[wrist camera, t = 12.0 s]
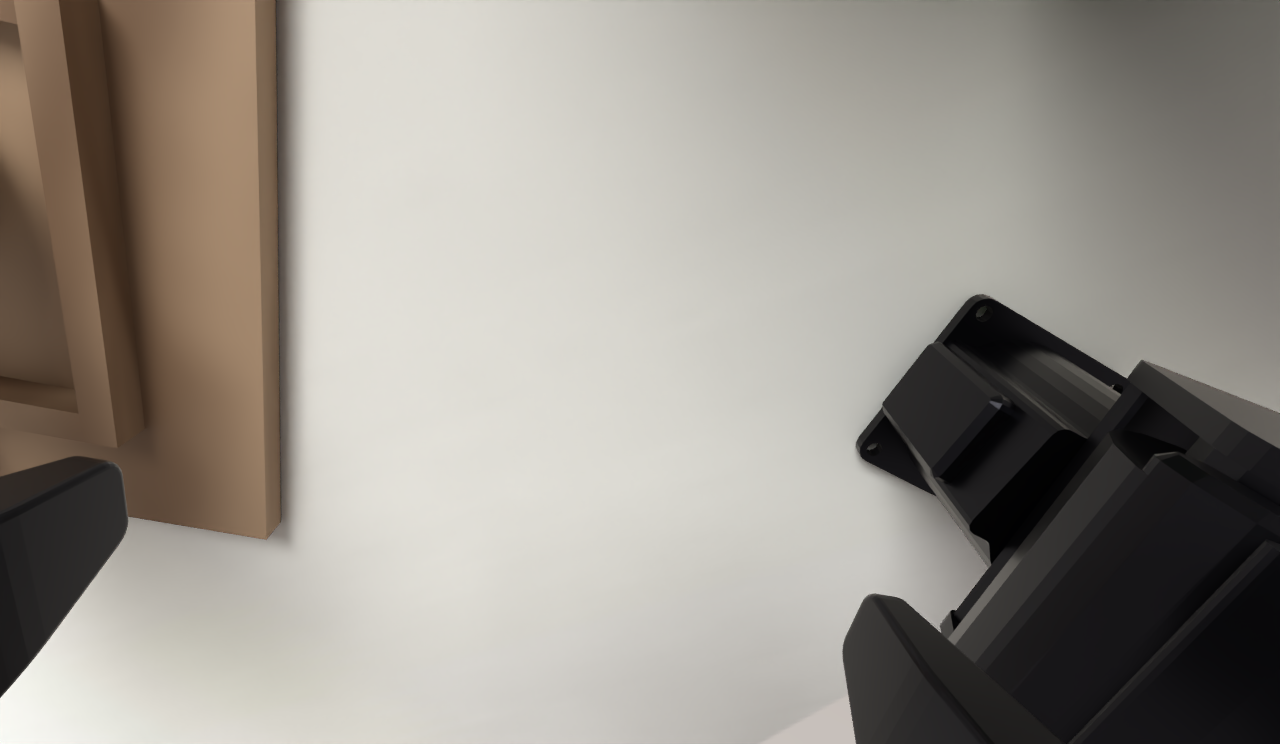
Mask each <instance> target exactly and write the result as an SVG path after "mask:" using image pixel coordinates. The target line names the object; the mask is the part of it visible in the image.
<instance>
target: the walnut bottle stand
mask: <svg viewBox="0 0 1280 744" xmlns="http://www.w3.org/2000/svg"><path fill="white" fill-rule="evenodd" d="M72 456H85V457H90V458H96V459H102V460H108V461H112V462H114V463H116V464H117V465H118V466H119V467H120V469H121V470H122V474H123V481H124V489H125V497H126V504H127V512H128V516H129V517H135V518H140V519H146V520H152V521H158V522H164V523H170V524H176V525H182V526H188V527H194V528H200V529H206V530H212V531H218V532H224V533H230V534H236V535H242V536H248V537H254V538H259V539H265V540H266V539H267V538H268V537H269V536H270V534H271V533H272V532H273V531H274V530H275V528H276V527H277V526H278V525H279V523H280V522H281V499H280V394H279V290H278V185H277V81H276V0H0V476H4V475H7V474H11V473H15V472H18V471H22V470H25V469H29V468H32V467H36V466H39V465H43V464H46V463H50V462H53V461H57V460H60V459H64V458H67V457H72Z"/></svg>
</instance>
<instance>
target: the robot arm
mask: <svg viewBox="0 0 1280 744" xmlns="http://www.w3.org/2000/svg"><path fill="white" fill-rule="evenodd" d="M983 306H986V311H985V313H984V314H983V315H982V316H980V317H976V313H977V311H978V309H980V308H981V307H983ZM1130 382H1131V383H1130ZM1114 384H1115V386H1114V387H1113V389H1112V388H1110V386H1112V385H1114ZM873 443H878V444H877V447H875V448H874V449H871V450H868V449H867V448H868V446H869V445H871V444H873ZM856 448H857V450H858V452H859V454H860V456H861V457H862V458H863V459H864V460H865V461H867V462H869V463H871V464H873V465H875V466H877V467H879V468H881V469H883V470H885V471H887V472H889V473H891V474H893V475H895V476H897V477H899V478H901V479H903V480H905V481H907V482H909V483H911V484H913V485H915V486H917V487H919V488H921V489H923V490H925V491H927V492H929V493H931V494H933V495H935V496H937V497H938V499H939V500H940V501H941V503H942V504H943V505H944V507H945V508H946V510H947V511H948V512H949V514H950V515H951V517H952V518H953V519H954V521H955V522H956V523H957V525H958V526H959V528H960V529H961V530H962V532H963V533H964V535H965V536H966V537H967V539H968V540H969V541H970V543H971V544H972V546H973V547H974V548H975V550H976V551H977V553H978V554H979V555H980V557H981V558H982V560H983V561H984V562H985V564H986V565H987V566H988V570H987V571H986V572H985V574H984V575H983V576H982V578H981V579H980V580H979V581H978V583H977V584H976V585H975V587H974V588H973V589H972V591H971V592H970V593H969V595H968V596H967V597H966V598H965V600H964V601H963V602H962V604H961V605H960V606H959V608H958V609H957V610H951V611H950V612H949V614H948V615H947V616H946V618H945V619H944V620H943V622H942V623H941V625H940V628H941V633H940V632H939V631H938V630H937V629H936V628H934V627H933V626H932V625H931V624H930V623H929V622H928V621H927V620H925V619H924V618H923V617H922V616H921V615H920V614H919V613H918V612H916V611H915V610H914V609H913V608H912V607H911V606H910V605H909V604H907V603H906V602H905V601H904V600H902V599H900V598H897V597H892V596H886V595H880V594H870V595H868V596H867V597H866V598H865V599H864V600H863V602H862V604H861V606H860V608H859V610H858V612H857V614H856V616H855V618H854V620H853V622H852V624H851V627H850V629H849V631H848V633H847V635H846V637H845V640H844V644H843V663H844V670H845V676H846V683H847V689H848V695H849V702H850V707H851V715H852V721H853V727H854V734H855V740H856V744H1280V413H1278V412H1275V411H1273V410H1270V409H1267V408H1265V407H1262V406H1260V405H1257V404H1255V403H1252V402H1250V401H1247V400H1244V399H1242V398H1239V397H1237V396H1234V395H1232V394H1229V393H1227V392H1224V391H1221V390H1219V389H1216V388H1214V387H1211V386H1209V385H1206V384H1203V383H1201V382H1198V381H1196V380H1193V379H1191V378H1188V377H1186V376H1183V375H1180V374H1178V373H1175V372H1173V371H1170V370H1168V369H1165V368H1163V367H1160V366H1157V365H1155V364H1152V363H1150V362H1147V361H1144V360H1141V361H1140V362H1139V364H1138V365H1137V366H1136V368H1135V369H1134V370H1133V371H1132V373H1131V374H1130V375H1129V377H1128V378H1127V379H1126V378H1125V377H1123V376H1121V375H1120V374H1118V373H1117V372H1115V371H1113V370H1111V369H1110V368H1108V367H1106V366H1105V365H1103V364H1101V363H1100V362H1098V361H1096V360H1095V359H1093V358H1091V357H1090V356H1088V355H1086V354H1085V353H1083V352H1081V351H1080V350H1078V349H1076V348H1075V347H1073V346H1071V345H1070V344H1068V343H1066V342H1065V341H1063V340H1061V339H1060V338H1058V337H1056V336H1055V335H1053V334H1051V333H1050V332H1048V331H1046V330H1045V329H1043V328H1041V327H1040V326H1038V325H1036V324H1035V323H1033V322H1031V321H1030V320H1028V319H1026V318H1025V317H1023V316H1021V315H1020V314H1018V313H1016V312H1015V311H1013V310H1011V309H1010V308H1008V307H1006V306H1004V305H1003V304H1001V303H999V302H998V301H996V300H994V299H993V298H991V297H989V296H987V295H984V294H981V295H975V296H973V297H971V298H970V299H969V300H968V301H966V302H965V304H964V305H963V306H962V307H961V309H960V310H959V311H958V312H957V314H956V315H955V316H954V318H953V319H952V320H951V321H950V323H949V324H948V325H947V326H946V328H945V329H944V330H943V331H942V333H941V334H940V335H939V337H938V338H937V339H936V340H935V342H934V343H932V344H930V345H928V346H927V347H926V349H925V350H924V351H923V352H922V354H921V355H920V356H919V357H918V359H917V360H916V361H915V363H914V364H913V365H912V366H911V368H910V369H909V370H908V371H907V373H906V374H905V375H904V376H903V378H902V379H901V380H900V382H899V383H898V384H897V385H896V387H895V388H894V389H893V390H892V392H891V393H890V394H889V396H888V397H887V398H886V399H885V401H884V402H883V407H882V409H881V410H880V411H879V412H878V414H877V415H876V416H875V417H874V419H873V420H872V421H871V422H870V424H869V425H868V426H867V428H866V429H865V430H864V431H863V433H862V434H861V435H860V436H859V438H858V440H857V442H856ZM127 526H128V512H127V504H126V497H125V489H124V481H123V474H122V470H121V469H120V467H119V466H118V465H117V464H116V463H114V462H112V461H108V460H102V459H96V458H90V457H85V456H72V457H67V458H64V459H60V460H57V461H53V462H50V463H46V464H43V465H39V466H36V467H32V468H29V469H25V470H22V471H18V472H15V473H11V474H7V475H4V476H0V698H1V696H2V695H3V694H4V693H5V692H6V691H7V690H8V689H9V688H10V686H11V685H12V684H13V683H14V682H15V681H16V679H17V678H18V677H19V676H20V675H21V674H22V672H23V671H24V670H25V669H26V668H27V666H28V665H29V664H30V663H31V662H32V660H33V659H34V658H35V657H36V655H37V654H38V653H39V651H40V650H41V649H42V648H43V646H44V645H45V644H46V643H47V641H48V640H49V639H50V637H51V636H52V634H53V633H54V632H55V630H56V629H57V628H58V626H59V625H60V624H61V622H62V621H63V620H64V618H65V617H66V616H67V614H68V613H69V611H70V610H71V609H72V607H73V606H74V605H75V603H76V602H77V601H78V599H79V598H80V597H81V595H82V594H83V593H84V591H85V590H86V588H87V587H88V586H89V584H90V583H91V582H92V580H93V579H94V578H95V576H96V575H97V574H98V572H99V571H100V570H101V568H102V567H103V566H104V564H105V563H106V561H107V560H108V559H109V557H110V556H111V555H112V553H113V552H114V551H115V549H116V548H117V547H118V545H119V544H120V542H121V541H122V539H123V537H124V535H125V533H126V530H127Z"/></svg>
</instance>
